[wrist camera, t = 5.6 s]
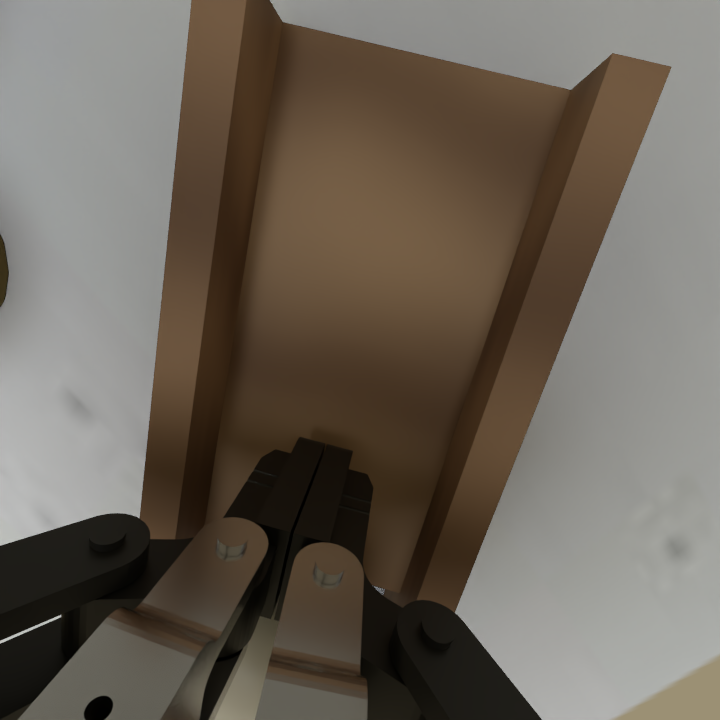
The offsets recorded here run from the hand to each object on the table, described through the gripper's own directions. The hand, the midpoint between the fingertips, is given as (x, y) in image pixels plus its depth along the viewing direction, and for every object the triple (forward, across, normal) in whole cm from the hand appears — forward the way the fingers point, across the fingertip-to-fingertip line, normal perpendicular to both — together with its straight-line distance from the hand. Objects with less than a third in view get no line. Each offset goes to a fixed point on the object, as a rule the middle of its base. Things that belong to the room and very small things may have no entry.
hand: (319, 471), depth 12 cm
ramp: (+3, 0, +1) cm, 3 cm away
